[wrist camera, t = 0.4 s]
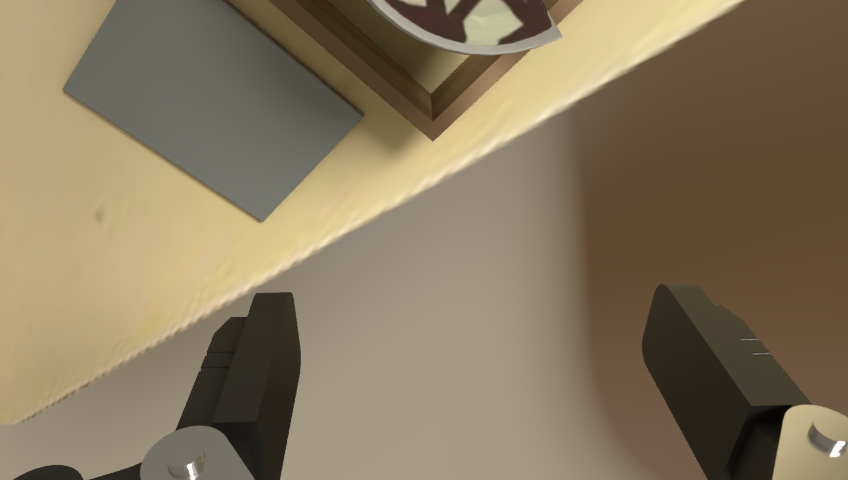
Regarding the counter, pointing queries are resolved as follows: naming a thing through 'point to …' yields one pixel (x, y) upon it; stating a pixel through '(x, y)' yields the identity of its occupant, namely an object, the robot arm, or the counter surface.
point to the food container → (473, 24)
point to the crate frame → (390, 81)
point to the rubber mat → (212, 97)
